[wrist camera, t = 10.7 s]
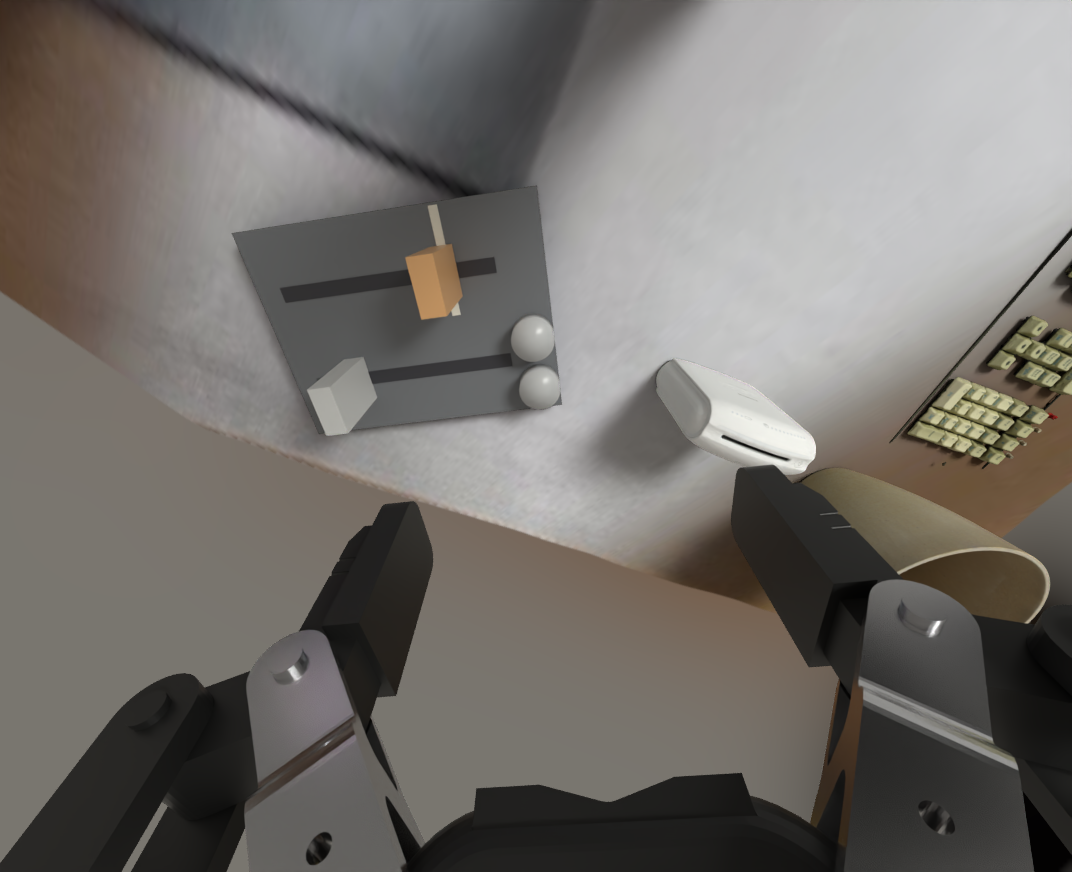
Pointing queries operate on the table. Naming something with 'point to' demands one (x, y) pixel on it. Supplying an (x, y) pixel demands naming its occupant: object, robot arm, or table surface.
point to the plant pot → (937, 546)
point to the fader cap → (435, 280)
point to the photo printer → (732, 418)
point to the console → (411, 311)
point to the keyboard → (979, 411)
